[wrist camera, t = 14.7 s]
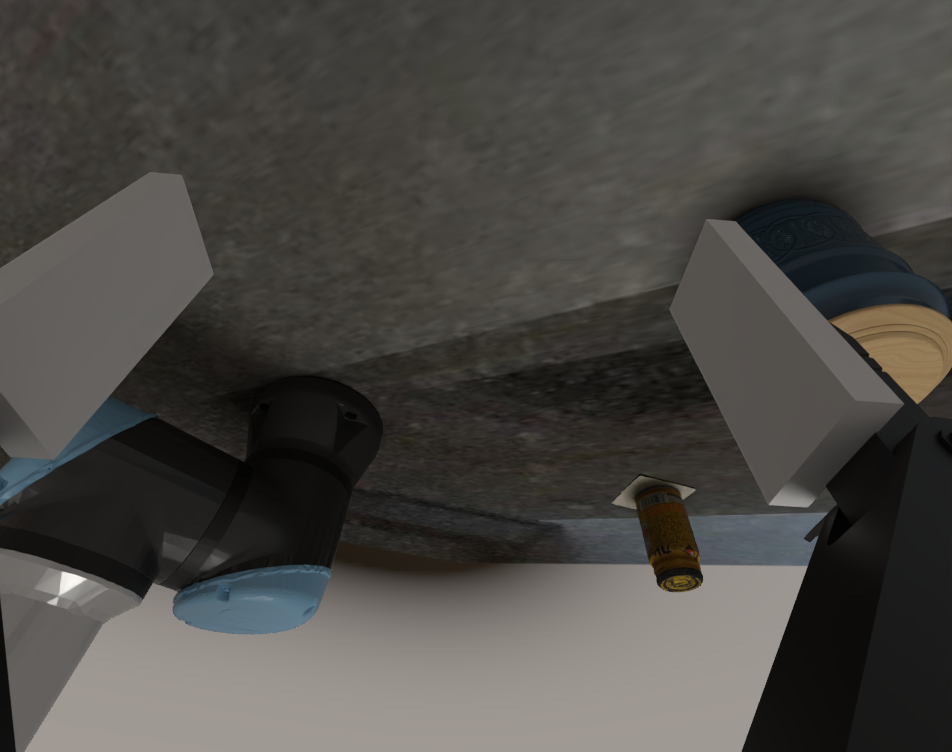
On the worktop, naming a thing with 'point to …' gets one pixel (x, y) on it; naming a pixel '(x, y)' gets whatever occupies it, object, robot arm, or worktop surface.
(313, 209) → the worktop surface
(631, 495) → the condiment
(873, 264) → the canister
